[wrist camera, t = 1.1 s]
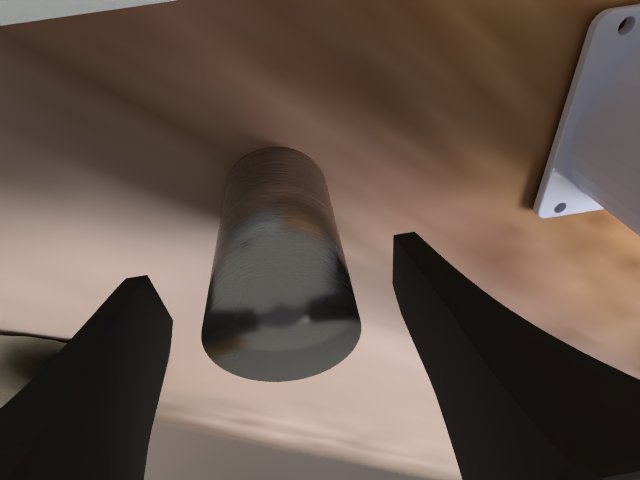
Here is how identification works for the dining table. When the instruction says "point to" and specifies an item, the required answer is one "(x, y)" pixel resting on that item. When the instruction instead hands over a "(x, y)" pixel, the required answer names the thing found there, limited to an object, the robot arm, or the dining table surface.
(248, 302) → the peg
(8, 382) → the condiment
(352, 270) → the dining table surface
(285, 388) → the dining table surface
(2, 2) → the socket
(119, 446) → the robot arm
